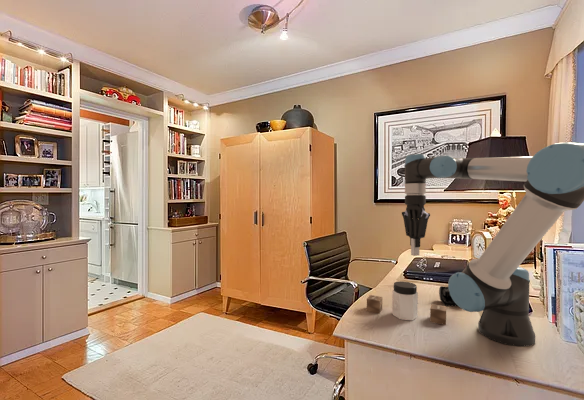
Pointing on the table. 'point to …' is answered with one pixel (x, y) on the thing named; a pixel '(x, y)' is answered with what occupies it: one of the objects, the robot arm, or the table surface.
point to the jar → (405, 300)
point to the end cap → (446, 297)
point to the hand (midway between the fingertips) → (415, 255)
